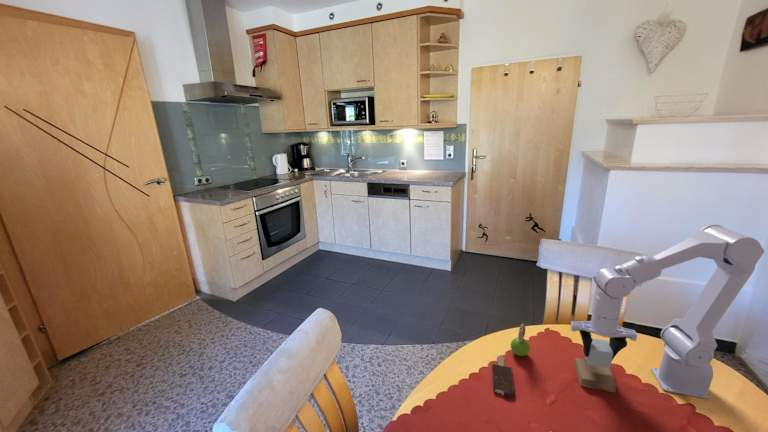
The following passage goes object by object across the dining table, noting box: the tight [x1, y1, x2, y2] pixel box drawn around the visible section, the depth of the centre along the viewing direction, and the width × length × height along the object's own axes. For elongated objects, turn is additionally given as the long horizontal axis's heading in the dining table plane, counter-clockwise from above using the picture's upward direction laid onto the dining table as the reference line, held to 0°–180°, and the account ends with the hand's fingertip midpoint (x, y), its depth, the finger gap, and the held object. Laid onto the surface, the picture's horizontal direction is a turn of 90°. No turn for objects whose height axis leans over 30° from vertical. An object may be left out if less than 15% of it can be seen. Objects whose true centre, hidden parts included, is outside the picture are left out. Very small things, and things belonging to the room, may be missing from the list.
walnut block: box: [574, 357, 617, 394], centre depth 89 cm, size 8×8×3 cm
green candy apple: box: [510, 323, 531, 357], centre depth 97 cm, size 5×6×12 cm
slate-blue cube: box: [584, 337, 613, 370], centre depth 87 cm, size 5×5×5 cm
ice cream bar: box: [491, 354, 516, 399], centre depth 91 cm, size 5×2×15 cm
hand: (597, 356), depth 87 cm, fingers closed on slate-blue cube, 5 cm apart
